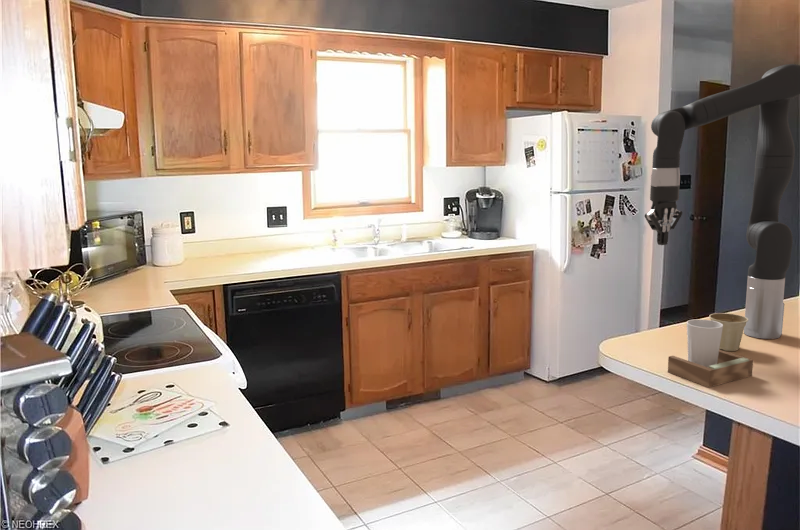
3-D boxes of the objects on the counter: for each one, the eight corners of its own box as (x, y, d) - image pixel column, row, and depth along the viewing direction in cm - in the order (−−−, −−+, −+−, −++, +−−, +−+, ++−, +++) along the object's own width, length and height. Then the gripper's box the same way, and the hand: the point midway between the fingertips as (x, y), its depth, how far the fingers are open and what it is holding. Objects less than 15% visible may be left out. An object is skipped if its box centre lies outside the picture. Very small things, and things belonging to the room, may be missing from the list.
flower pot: (754, 350, 165) (756, 319, 163) (728, 355, 162) (730, 323, 160) (724, 341, 174) (726, 311, 172) (699, 345, 170) (701, 315, 169)
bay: (709, 361, 157) (711, 345, 156) (752, 375, 147) (753, 358, 146) (667, 372, 151) (668, 354, 150) (708, 387, 141) (709, 369, 140)
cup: (684, 363, 156) (687, 318, 154) (719, 367, 153) (722, 321, 151) (683, 373, 149) (685, 326, 147) (720, 378, 146) (723, 329, 144)
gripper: (670, 182, 179) (668, 241, 182) (637, 184, 174) (635, 245, 177) (692, 183, 173) (689, 244, 176) (658, 185, 167) (656, 248, 170)
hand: (662, 244), depth 176 cm, fingers closed
